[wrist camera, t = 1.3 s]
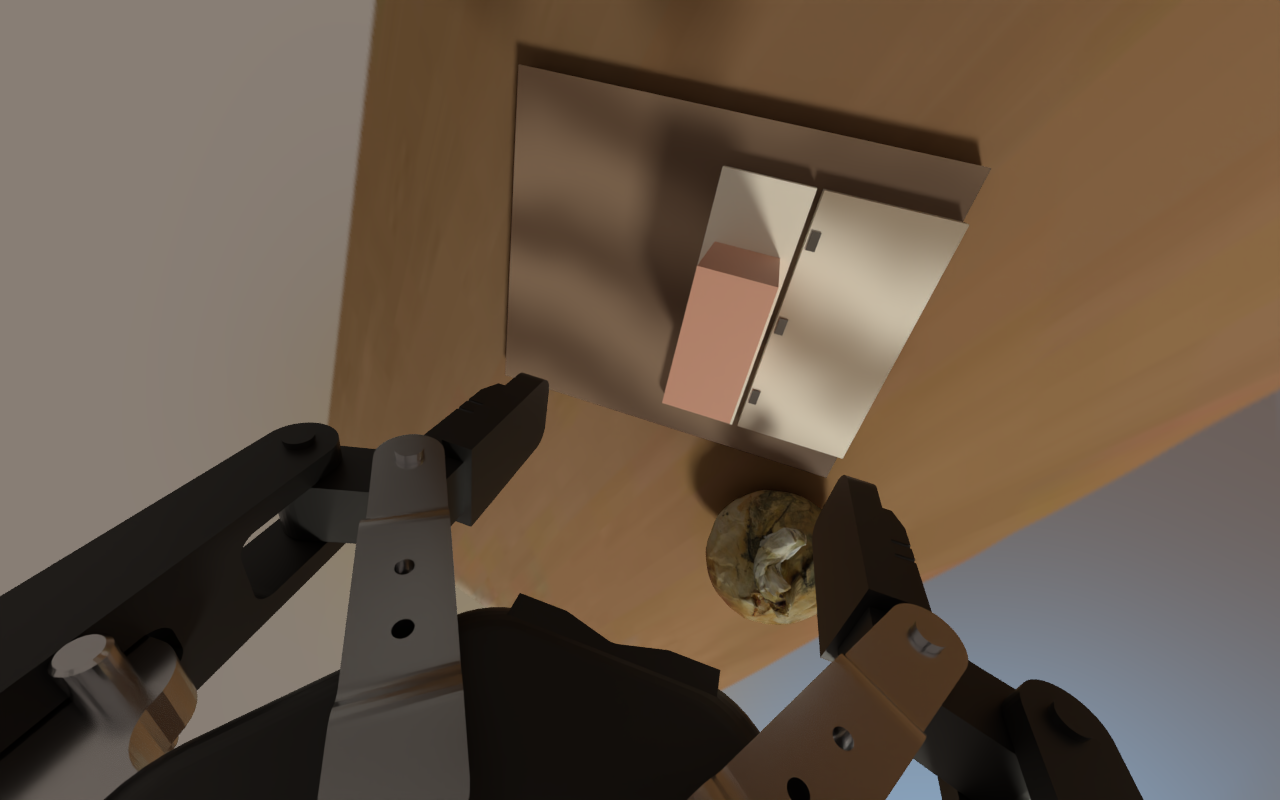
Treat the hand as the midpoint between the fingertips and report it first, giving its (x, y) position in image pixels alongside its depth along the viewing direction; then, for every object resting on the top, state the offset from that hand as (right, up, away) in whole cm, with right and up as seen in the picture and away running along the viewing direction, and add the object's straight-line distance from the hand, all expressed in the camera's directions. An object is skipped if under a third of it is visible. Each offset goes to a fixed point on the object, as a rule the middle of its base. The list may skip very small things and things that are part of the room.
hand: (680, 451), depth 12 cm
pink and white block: (+3, +6, +11) cm, 13 cm away
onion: (+8, -6, +17) cm, 20 cm away
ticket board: (+2, +7, +12) cm, 14 cm away
